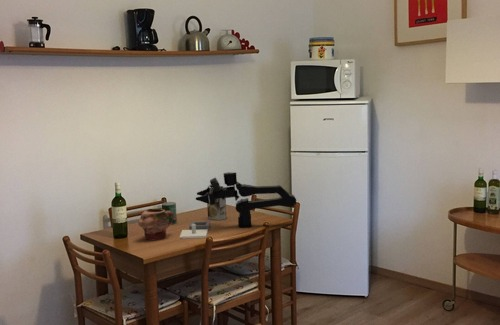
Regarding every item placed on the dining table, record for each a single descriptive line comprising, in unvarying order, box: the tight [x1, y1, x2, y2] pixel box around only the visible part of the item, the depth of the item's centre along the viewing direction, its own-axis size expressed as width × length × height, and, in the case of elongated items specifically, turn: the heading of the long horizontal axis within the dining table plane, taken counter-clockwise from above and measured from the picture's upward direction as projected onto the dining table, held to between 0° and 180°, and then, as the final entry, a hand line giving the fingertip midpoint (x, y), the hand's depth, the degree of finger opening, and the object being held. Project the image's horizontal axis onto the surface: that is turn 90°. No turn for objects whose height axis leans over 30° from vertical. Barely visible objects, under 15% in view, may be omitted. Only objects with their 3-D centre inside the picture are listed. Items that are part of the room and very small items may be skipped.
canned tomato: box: [161, 201, 178, 225], centre depth 305 cm, size 8×8×11 cm
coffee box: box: [206, 198, 227, 221], centre depth 311 cm, size 9×6×16 cm
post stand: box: [179, 224, 209, 239], centre depth 277 cm, size 13×13×6 cm
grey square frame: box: [189, 220, 211, 231], centre depth 290 cm, size 10×10×2 cm
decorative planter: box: [138, 208, 174, 241], centre depth 275 cm, size 20×12×14 cm, turn 137°
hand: (196, 196), depth 290 cm, fingers open, 9 cm apart
